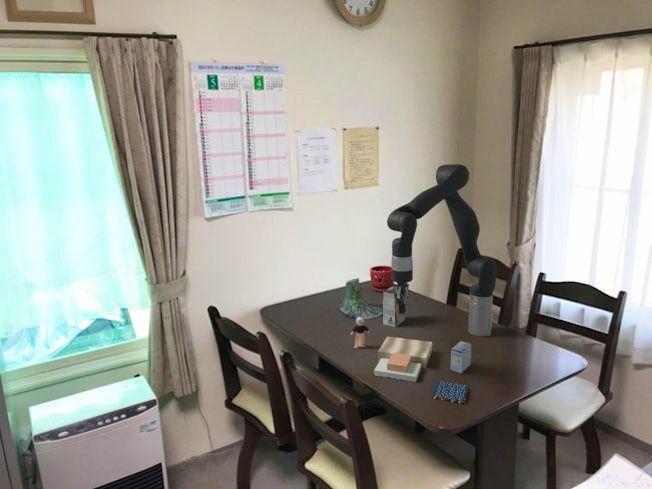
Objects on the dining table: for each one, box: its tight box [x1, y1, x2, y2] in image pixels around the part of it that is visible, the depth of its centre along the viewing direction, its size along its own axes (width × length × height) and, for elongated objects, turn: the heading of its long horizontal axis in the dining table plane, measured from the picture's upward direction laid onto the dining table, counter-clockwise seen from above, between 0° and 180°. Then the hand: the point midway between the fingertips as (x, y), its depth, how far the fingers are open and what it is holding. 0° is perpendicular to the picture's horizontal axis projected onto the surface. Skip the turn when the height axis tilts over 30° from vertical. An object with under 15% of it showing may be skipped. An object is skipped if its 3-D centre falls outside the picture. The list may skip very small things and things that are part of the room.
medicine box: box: [450, 341, 472, 374], centre depth 180 cm, size 8×4×9 cm, turn 141°
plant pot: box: [369, 265, 395, 293], centre depth 266 cm, size 13×13×12 cm
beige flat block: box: [377, 336, 433, 369], centre depth 190 cm, size 18×14×4 cm
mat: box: [373, 358, 422, 383], centre depth 179 cm, size 15×10×2 cm, turn 69°
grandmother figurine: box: [350, 317, 371, 349], centre depth 199 cm, size 8×4×13 cm, turn 106°
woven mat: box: [432, 380, 470, 404], centre depth 164 cm, size 10×11×2 cm
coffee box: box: [382, 284, 406, 328], centre depth 221 cm, size 9×6×16 cm
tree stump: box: [339, 277, 383, 321], centre depth 236 cm, size 19×21×19 cm
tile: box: [387, 353, 412, 373], centre depth 179 cm, size 7×9×2 cm
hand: (402, 312), depth 180 cm, fingers closed
